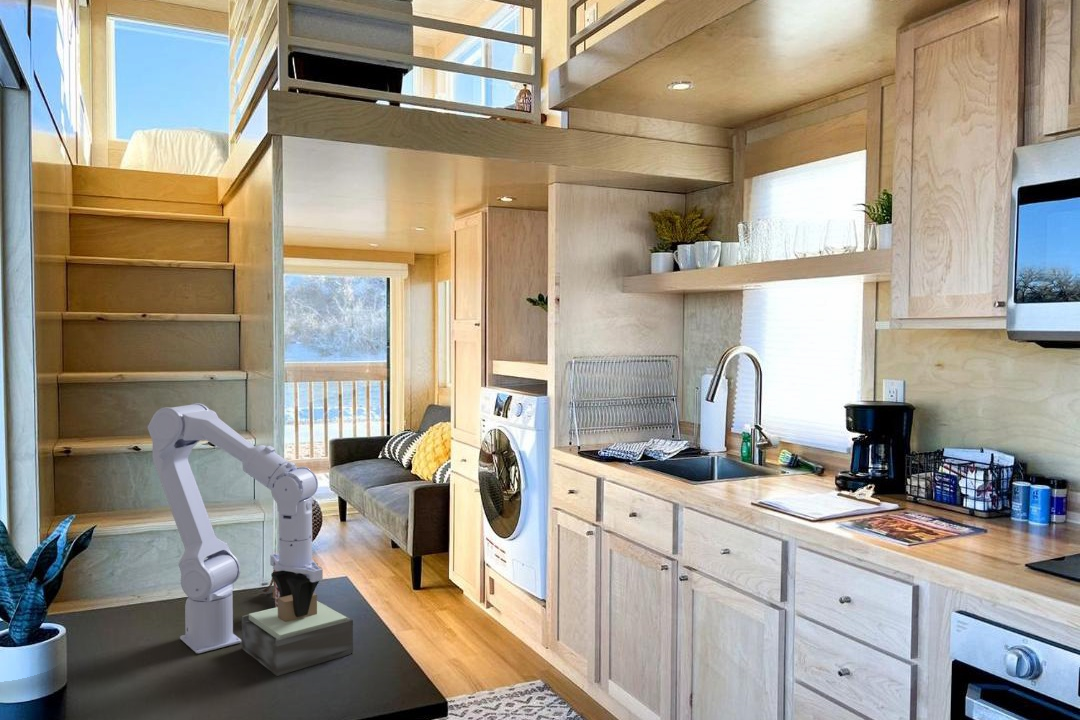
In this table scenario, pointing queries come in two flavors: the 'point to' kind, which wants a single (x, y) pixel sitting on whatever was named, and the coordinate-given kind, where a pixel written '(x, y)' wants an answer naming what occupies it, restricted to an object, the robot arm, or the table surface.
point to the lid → (294, 618)
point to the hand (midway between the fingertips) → (296, 612)
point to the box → (297, 645)
